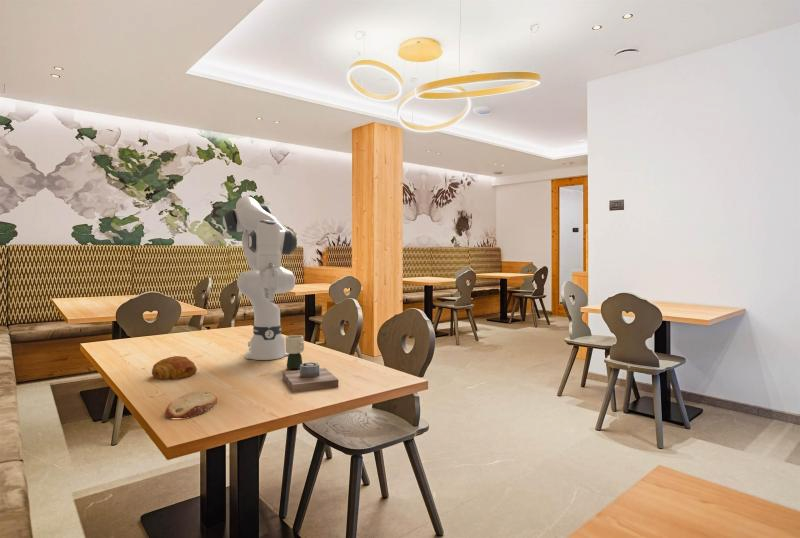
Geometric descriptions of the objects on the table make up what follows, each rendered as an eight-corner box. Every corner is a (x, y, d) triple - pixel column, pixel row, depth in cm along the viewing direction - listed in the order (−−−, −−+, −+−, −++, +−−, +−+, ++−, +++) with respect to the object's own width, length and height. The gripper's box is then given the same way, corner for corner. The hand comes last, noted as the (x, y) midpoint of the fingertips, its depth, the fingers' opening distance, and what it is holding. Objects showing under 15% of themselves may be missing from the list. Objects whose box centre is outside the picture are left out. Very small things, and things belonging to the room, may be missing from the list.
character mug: (310, 368, 191) (310, 336, 190) (296, 372, 185) (296, 339, 184) (293, 364, 197) (292, 333, 197) (279, 368, 192) (278, 336, 191)
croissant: (145, 382, 178) (142, 362, 176) (182, 368, 191) (179, 349, 190) (170, 387, 171) (167, 366, 169) (206, 371, 184) (203, 352, 183)
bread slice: (207, 395, 157) (207, 384, 157) (233, 408, 145) (233, 395, 145) (149, 408, 144) (149, 396, 144) (172, 423, 132) (172, 410, 132)
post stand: (283, 378, 176) (282, 361, 176) (324, 374, 183) (324, 357, 183) (292, 391, 160) (292, 372, 160) (338, 386, 167) (338, 368, 166)
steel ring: (298, 374, 173) (298, 363, 173) (316, 372, 176) (316, 361, 176) (302, 378, 167) (302, 367, 167) (320, 376, 170) (320, 365, 170)
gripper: (282, 263, 170) (282, 302, 171) (273, 262, 189) (273, 296, 189) (264, 263, 168) (264, 302, 168) (256, 262, 186) (257, 297, 187)
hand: (269, 299), depth 179 cm, fingers open, 8 cm apart
